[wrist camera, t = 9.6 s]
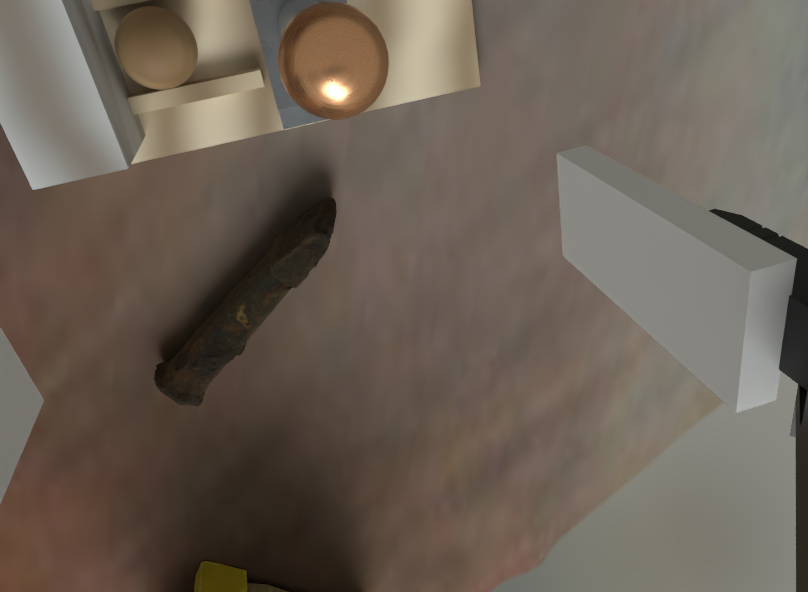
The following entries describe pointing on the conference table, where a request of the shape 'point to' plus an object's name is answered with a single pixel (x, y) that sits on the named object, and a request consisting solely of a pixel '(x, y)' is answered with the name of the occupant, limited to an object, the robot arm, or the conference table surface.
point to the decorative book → (226, 580)
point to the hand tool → (247, 306)
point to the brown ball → (156, 47)
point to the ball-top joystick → (320, 58)
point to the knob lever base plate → (200, 94)
